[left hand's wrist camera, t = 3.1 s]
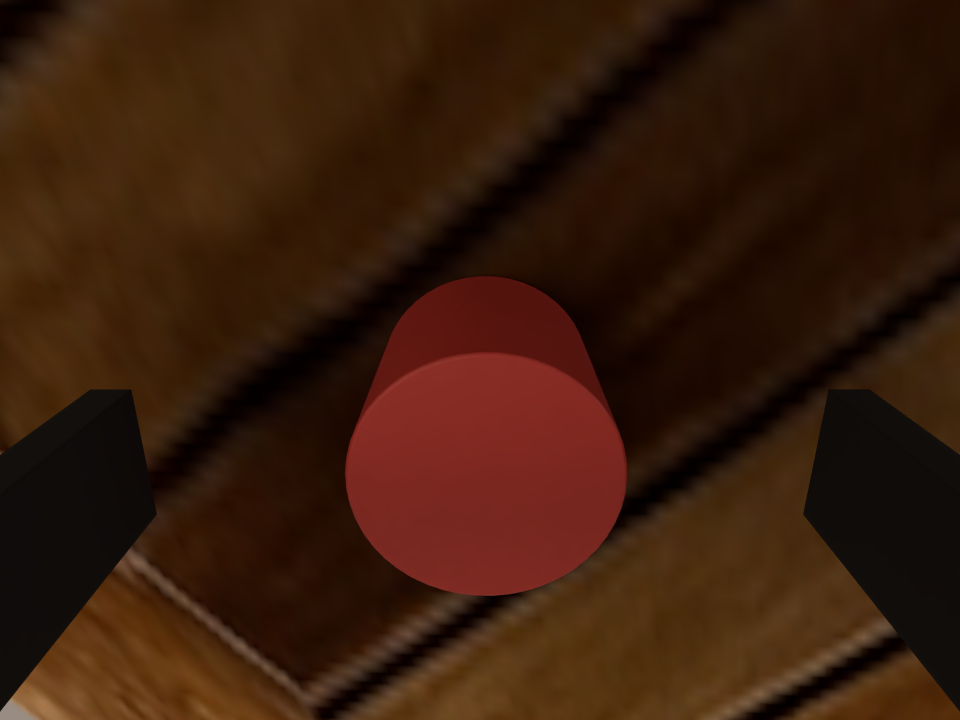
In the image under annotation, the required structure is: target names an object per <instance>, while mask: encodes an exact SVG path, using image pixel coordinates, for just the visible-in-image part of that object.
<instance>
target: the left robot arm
mask: <svg viewBox="0 0 960 720" xmlns="http://www.w3.org/2000/svg"><path fill="white" fill-rule="evenodd" d="M156 515H157V513H156V508H155V503H154V499H153V494H152V489H151V484H150V479H149V474H148V469H147V464H146V460H145V455H144V450H143V445H142V440H141V435H140V430H139V425H138V420H137V416H136V411H135V406H134V401H133V396H132V391H131V390H89V391H88V392H86V393H85V394H84V395H82V396H81V397H80V398H78V399H77V400H75V401H74V402H73V403H71V404H70V405H69V406H67V407H66V408H64V409H63V410H62V411H60V412H59V413H58V414H56V415H55V416H53V417H52V418H51V419H49V420H48V421H46V422H45V423H44V424H42V425H41V426H40V427H38V428H37V429H35V430H34V431H33V432H31V433H30V434H29V435H27V436H26V437H24V438H23V439H22V440H20V441H19V442H18V443H16V444H15V445H13V446H12V447H11V448H9V449H8V450H6V451H5V452H4V453H2V454H1V455H0V711H1V710H2V708H3V707H4V706H5V705H6V703H7V702H8V701H9V700H10V698H11V697H12V696H13V695H14V693H15V692H16V691H17V690H18V688H19V687H20V686H21V685H22V683H23V682H24V681H25V680H26V678H27V677H28V676H29V675H30V673H31V672H32V671H33V669H34V668H35V667H36V666H37V664H38V663H39V662H40V661H41V659H42V658H43V657H44V656H45V654H46V653H47V652H48V651H49V649H50V648H51V647H52V646H53V644H54V643H55V642H56V641H57V639H58V638H59V637H60V635H61V634H62V633H63V632H64V630H65V629H66V628H67V627H68V625H69V624H70V623H71V622H72V620H73V619H74V618H75V617H76V615H77V614H78V613H79V612H80V610H81V609H82V608H83V607H84V605H85V604H86V603H87V601H88V600H89V599H90V598H91V596H92V595H93V594H94V593H95V591H96V590H97V589H98V588H99V586H100V585H101V584H102V583H103V581H104V580H105V579H106V578H107V576H108V575H109V574H110V573H111V571H112V570H113V569H114V567H115V566H116V565H117V564H118V562H119V561H120V560H121V559H122V557H123V556H124V555H125V554H126V552H127V551H128V550H129V549H130V547H131V546H132V545H133V544H134V542H135V541H136V540H137V539H138V537H139V536H140V535H141V533H142V532H143V531H144V530H145V528H146V527H147V526H148V525H149V523H150V522H151V521H152V520H153V518H154V517H155V516H156ZM803 515H804V516H805V517H806V518H807V520H808V521H809V522H810V523H811V525H812V526H813V527H814V528H815V530H816V531H817V532H818V533H819V535H820V536H821V537H822V539H823V540H824V541H825V542H826V544H827V545H828V546H829V547H830V549H831V550H832V551H833V552H834V554H835V555H836V556H837V557H838V559H839V560H840V561H841V562H842V564H843V565H844V566H845V567H846V569H847V570H848V571H849V573H850V574H851V575H852V576H853V578H854V579H855V580H856V581H857V583H858V584H859V585H860V586H861V588H862V589H863V590H864V591H865V593H866V594H867V595H868V596H869V598H870V599H871V600H872V601H873V603H874V604H875V605H876V607H877V608H878V609H879V610H880V612H881V613H882V614H883V615H884V617H885V618H886V619H887V620H888V622H889V623H890V624H891V625H892V627H893V628H894V629H895V630H896V632H897V633H898V634H899V635H900V637H901V638H902V639H903V641H904V642H905V643H906V644H907V646H908V647H909V648H910V649H911V651H912V652H913V653H914V654H915V656H916V657H917V658H918V659H919V661H920V662H921V663H922V664H923V666H924V667H925V668H926V669H927V671H928V672H929V673H930V675H931V676H932V677H933V678H934V680H935V681H936V682H937V683H938V685H939V686H940V687H941V688H942V690H943V691H944V692H945V693H946V695H947V696H948V697H949V698H950V700H951V701H952V702H953V703H954V705H955V706H956V707H957V709H958V710H959V711H960V455H959V454H958V453H956V452H955V451H954V450H952V449H951V448H949V447H948V446H947V445H945V444H944V443H942V442H941V441H940V440H938V439H937V438H936V437H934V436H933V435H931V434H930V433H929V432H927V431H926V430H925V429H923V428H922V427H920V426H919V425H918V424H916V423H915V422H914V421H912V420H911V419H909V418H908V417H907V416H905V415H904V414H902V413H901V412H900V411H898V410H897V409H896V408H894V407H893V406H891V405H890V404H889V403H887V402H886V401H885V400H883V399H882V398H880V397H879V396H878V395H876V394H875V393H874V392H872V391H871V390H829V391H828V396H827V401H826V406H825V411H824V416H823V420H822V425H821V430H820V435H819V440H818V445H817V450H816V455H815V459H814V464H813V469H812V474H811V479H810V484H809V489H808V494H807V499H806V503H805V508H804V513H803Z"/></svg>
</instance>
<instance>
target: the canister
mask: <svg viewBox="0 0 960 720" xmlns="http://www.w3.org/2000/svg"><path fill="white" fill-rule="evenodd" d="M345 477H346V489H347V494H348V498H349V502H350V506H351V508H352V511H353V513H354V516H355V519H356V521H357V523H358V524H359V526H360V528H361V530H362V531H363V533H364V535H365V536H366V537H367V539H368V540H369V541H370V543H371V544H372V545H373V547H374V548H375V549H376V550H377V551H378V552H379V553H380V554H381V555H382V556H383V557H384V558H385V559H386V560H388V561H389V562H390V563H391V564H393V565H394V566H395V567H396V568H398V569H399V570H401V571H402V572H404V573H406V574H407V575H409V576H411V577H412V578H415V579H417V580H419V581H421V582H423V583H425V584H428V585H430V586H433V587H436V588H439V589H442V590H446V591H451V592H455V593H460V594H469V595H491V596H493V595H504V594H512V593H517V592H522V591H527V590H530V589H533V588H536V587H539V586H543V585H545V584H547V583H549V582H552V581H554V580H556V579H558V578H560V577H562V576H563V575H565V574H567V573H569V572H570V571H572V570H573V569H575V568H576V567H577V566H579V565H580V564H581V563H583V562H584V561H585V560H586V559H587V558H588V557H589V556H590V555H591V554H593V553H594V552H595V551H596V550H597V548H598V547H599V546H600V545H601V543H602V542H603V541H604V540H605V538H606V537H607V536H608V534H609V532H610V531H611V529H612V527H613V526H614V524H615V522H616V520H617V517H618V515H619V513H620V510H621V508H622V504H623V500H624V497H625V493H626V485H627V459H626V454H625V449H624V444H623V442H622V439H621V436H620V433H619V431H618V428H617V425H616V423H615V420H614V418H613V415H612V413H611V411H610V408H609V406H608V403H607V401H606V398H605V396H604V393H603V391H602V388H601V386H600V383H599V381H598V378H597V376H596V373H595V371H594V368H593V366H592V363H591V361H590V358H589V356H588V353H587V351H586V348H585V346H584V343H583V341H582V339H581V336H580V334H579V332H578V330H577V328H576V326H575V324H574V323H573V321H572V320H571V318H570V317H569V316H568V314H567V313H566V312H565V311H564V310H563V309H562V308H561V307H560V306H559V305H558V304H557V303H556V302H555V301H554V300H553V299H551V298H550V297H549V296H548V295H546V294H545V293H543V292H541V291H539V290H538V289H536V288H534V287H532V286H530V285H527V284H525V283H523V282H519V281H516V280H512V279H509V278H502V277H495V276H477V277H469V278H463V279H459V280H455V281H452V282H449V283H446V284H444V285H441V286H439V287H437V288H435V289H433V290H432V291H430V292H428V293H427V294H425V295H424V296H422V297H421V298H420V299H418V300H417V301H416V302H415V303H414V304H413V305H412V306H411V307H410V308H409V309H408V310H407V311H406V312H405V313H404V315H403V316H402V317H401V318H400V320H399V321H398V323H397V325H396V326H395V328H394V330H393V332H392V334H391V337H390V339H389V342H388V344H387V347H386V349H385V352H384V355H383V357H382V360H381V362H380V365H379V368H378V370H377V373H376V375H375V378H374V380H373V383H372V386H371V388H370V391H369V393H368V396H367V399H366V401H365V404H364V406H363V409H362V412H361V414H360V417H359V419H358V422H357V425H356V427H355V430H354V432H353V435H352V438H351V440H350V444H349V448H348V452H347V457H346V469H345Z"/></svg>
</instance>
